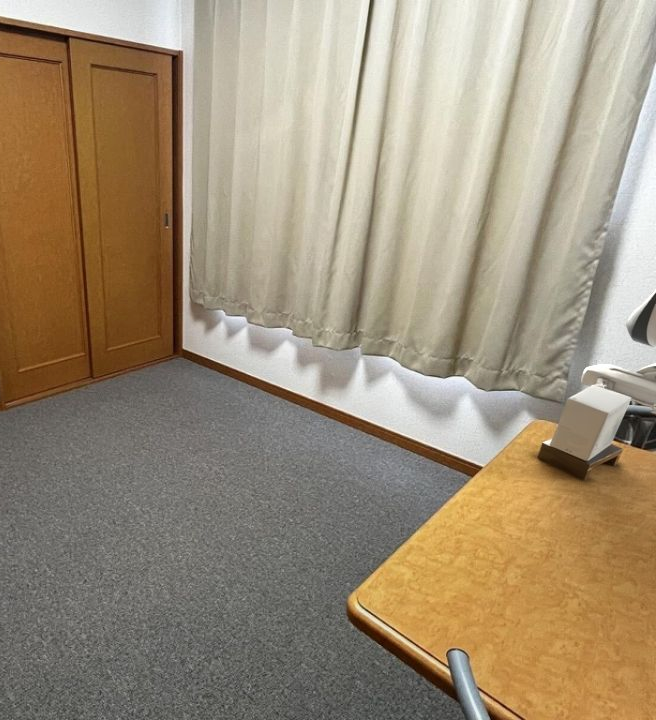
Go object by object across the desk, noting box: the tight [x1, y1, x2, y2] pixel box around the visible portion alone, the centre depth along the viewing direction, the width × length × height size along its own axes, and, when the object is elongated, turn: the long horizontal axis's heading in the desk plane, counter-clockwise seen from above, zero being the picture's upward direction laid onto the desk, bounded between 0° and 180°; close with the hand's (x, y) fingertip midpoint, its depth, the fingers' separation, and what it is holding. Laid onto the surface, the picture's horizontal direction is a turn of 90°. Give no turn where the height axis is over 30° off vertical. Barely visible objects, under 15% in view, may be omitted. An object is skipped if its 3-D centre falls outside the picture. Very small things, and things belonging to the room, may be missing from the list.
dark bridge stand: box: [537, 438, 624, 481], centre depth 91 cm, size 8×11×4 cm
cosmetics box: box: [550, 385, 632, 461], centre depth 88 cm, size 10×6×10 cm, turn 121°
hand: (625, 400), depth 91 cm, fingers open, 8 cm apart
